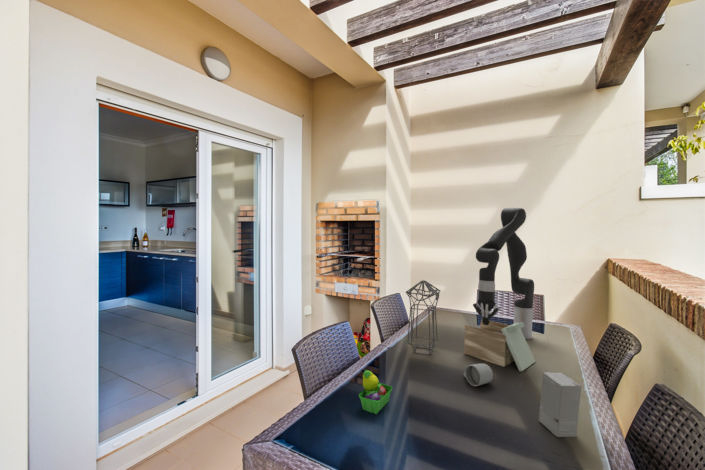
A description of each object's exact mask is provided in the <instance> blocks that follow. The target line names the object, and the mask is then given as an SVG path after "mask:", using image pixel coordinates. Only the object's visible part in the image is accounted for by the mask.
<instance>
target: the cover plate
mask: <svg viewBox="0 0 705 470" xmlns="http://www.w3.org/2000/svg"><path fill="white" fill-rule="evenodd" d="M509 325H510V326H508V327H505V328H503V329H501V331H502V333H503V335H506V338H505V340H506V342H507V344H508V347H509V349H510V351H511V353H512V356H513V358H514V362H515V365H516V367H517V369H518V371H519V372H520V373H521V372H523V371H525V370H526V369H527V368H528V367H530V366H532V365H533V364H534V363H535V362H536V360H535V357H534V355H533V352H532V351H531V349H530V347H529V344H528V341H527V339H525V337H524V335H523V333H522V331H521V329H520V328H522V327H524V326H525V325H524V323H523V322H520V323H514V322H513V323H512V324H509Z"/></svg>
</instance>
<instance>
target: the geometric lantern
mask: <svg viewBox="0 0 705 470" xmlns="http://www.w3.org/2000/svg"><path fill="white" fill-rule="evenodd" d="M418 286H419V287H418ZM417 287H418V288H417ZM425 287H426V288H427V290H425ZM413 290H414V291H416V292H413ZM440 292H441V289H439V288H437V287H436V286H434V285H433V284H431V283H429V282H428V281H427V280H424V279H422V280H420V281H419V282H417V283H416V284H415V285H414V286H412V287H411V288H409V289H407V290H406V291H405V294H406V295H407V297H408V299H409V319H408V329H407V330H408V331H407V341H406V342H407V344H408V345H410V346H411V348H413V353H414V354H418V355H419V354H420V355H426V356H430V355H432V352H433V349H434V348H435V347H436V345H437V344H438V341H439V339H438V338H439V337H438V326H437V325H438V323H437V305H438V302H439V299H440ZM427 293H429V294H427ZM414 295H415V296H416V297H415V296H414ZM418 295H420V296H421V297H420V299H419V298H418ZM434 296H435V299H434V300H433V302H432V301H431V297H434ZM424 297H426V298H424ZM414 299H415V301H414ZM427 299H429V302H430V304H431V305H430V304H427V303H426V300H427ZM421 301H422V302H424V306H426V308H427V309H423V308H419V306H423V304H421V303H420V302H421ZM416 302H417V303H416ZM412 303H413V304H412ZM434 304H435V305H434ZM415 307H416V308H415ZM430 307H431V308H430ZM415 310H416V318H415ZM419 311H427V312H428V318H427V319H428V337H424V336H423V337H422V336H418V320H419V318H418V317H419ZM430 312H431V319H430ZM415 319H416V320H415ZM430 320H432V321H431V322H432V337H431V322H430ZM415 321H416V325H415V336H413V335H414V322H415ZM435 334H436V335H435ZM435 336H436V338H435ZM417 338H418V339H425V340H428V343H422V344H421V343H418V339H417ZM431 340H432V341H431ZM432 343H433V344H432ZM417 350H421V351H428V353H424V352H423V353H422V352H417Z"/></svg>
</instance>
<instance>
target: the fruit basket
mask: <svg viewBox="0 0 705 470" xmlns="http://www.w3.org/2000/svg"><path fill="white" fill-rule="evenodd" d="M362 386H363V388H364V389H363V390H362V391H361V392H359V394H358V397H359V400H360V402H361V403H360V404H361V406H362V407H361V408H362V410H363V411H366V412H368V413H373V414H375V415H378V413H379V412H380V411H381V410H382V409H383V408H384V407H385V406H386V404H387V403H389V400H390V397H391V396H390V395H391V393H392V390H393V386H391V385H387V384H385V383H381V382H380V381H379V379H378V377H377V376H376V375H375V374H374V373H373V372H372V371H370V370H367V369H366V370H364V372H363V374H362Z"/></svg>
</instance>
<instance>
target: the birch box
mask: <svg viewBox="0 0 705 470" xmlns="http://www.w3.org/2000/svg"><path fill="white" fill-rule="evenodd" d="M480 320H481V322H480V323H479V324H480V326H479V327H480V328H479V327H476V326H472V325H469V324H468V325H467V324H464V351H463V352H464V353H463V354H465V355H467V356H470V357H473V358H477V359H480V360H482V361H485V362H488V363H492V364H494V365H498V366H500V367H504V368H505V367H507V366H509V365H510V364H511V363H513V362H515V360H514V358H513V356H512V353H511V351H510V349H509V347H508V344H507V342H506V340H505V338H506V335H503V333H502V331H501V329H503V328H505V327H508V326H510V325H511V324H507V323H501V322H496V321H492V320H489V324H488V325H483V323H482V318H481V319H480ZM520 329H521V328H520ZM495 332H497V333H495ZM499 333H501V334H499Z"/></svg>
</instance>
